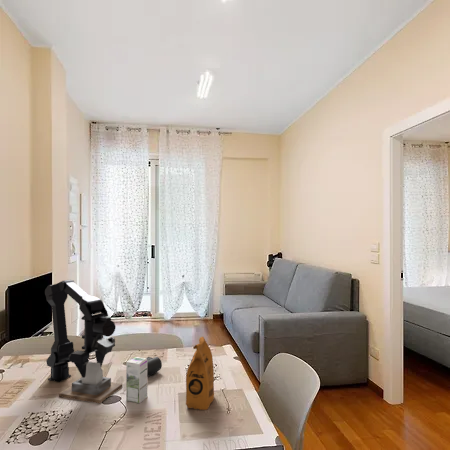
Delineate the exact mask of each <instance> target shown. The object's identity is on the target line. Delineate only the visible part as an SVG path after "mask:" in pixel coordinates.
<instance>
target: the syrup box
mask: <svg viewBox="0 0 450 450" xmlns="http://www.w3.org/2000/svg"><path fill="white" fill-rule="evenodd" d="M125 364H126V367H125V368H126V369H125V370H126V374H125V375H126V379H125V380H126V383H125V384H126V388H125V389H126V394H125V395H126V397H125V398H126V402H131V403H136V404H140V403H142V402H143V401H145V400H146V399H147V398H148V377H147V357H138V356H134V357H132V358H129V359H128V360H127V361H126V363H125Z"/></svg>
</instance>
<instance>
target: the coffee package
mask: <svg viewBox="0 0 450 450" xmlns="http://www.w3.org/2000/svg"><path fill="white" fill-rule="evenodd" d="M192 349H193V350H195V352H194V354H193V355H192V358H191V360H190V362H189V365H188V368H187V371H186V376H185V388H186V389H185V393H186V394H185V395H186V396H185V405H186V407H187V408H188V409H194V410H199V411H202V410H203V411H207V410H209V408H210V405H211V404H212V403H213V401H214V398H215V388H214V386H215V384H214V382H215V370H214V359H213V353H212V351H211V348H210V346H209V345H208V342H207V341H206V339H205V337H204V336H201V337H199V339H198V343H197V344H195V345H194V346H193V347H192Z"/></svg>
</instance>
